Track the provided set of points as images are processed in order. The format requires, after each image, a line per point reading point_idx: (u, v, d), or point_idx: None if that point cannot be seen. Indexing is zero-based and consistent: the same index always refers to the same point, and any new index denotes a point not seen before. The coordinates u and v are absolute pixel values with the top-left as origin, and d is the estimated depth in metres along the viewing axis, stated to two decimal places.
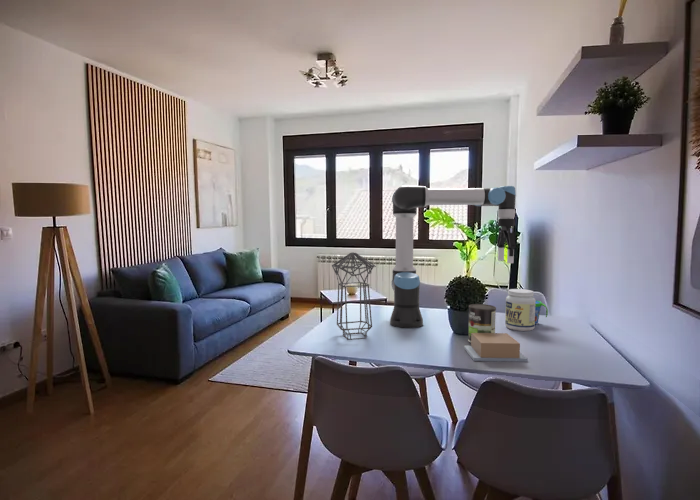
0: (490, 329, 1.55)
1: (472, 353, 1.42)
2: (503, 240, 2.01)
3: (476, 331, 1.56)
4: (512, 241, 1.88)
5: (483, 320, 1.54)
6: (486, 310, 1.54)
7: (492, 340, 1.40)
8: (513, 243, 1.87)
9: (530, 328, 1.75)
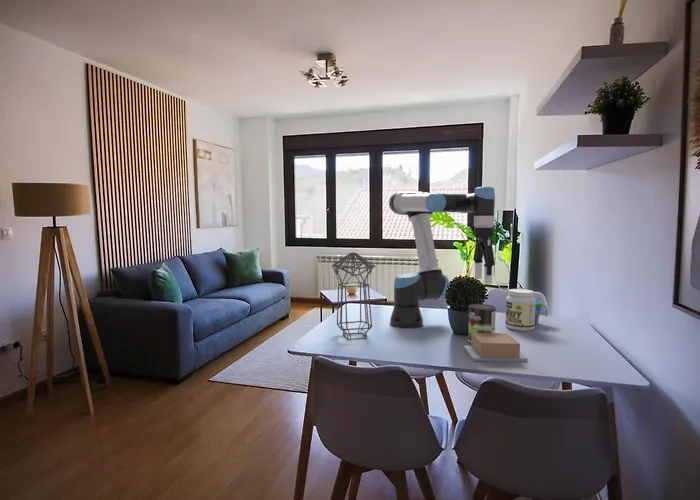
0: (490, 329, 1.55)
1: (472, 353, 1.42)
2: (480, 254, 1.62)
3: (476, 331, 1.56)
4: (490, 256, 1.49)
5: (483, 320, 1.54)
6: (486, 310, 1.54)
7: (492, 340, 1.40)
8: (491, 259, 1.48)
9: (530, 328, 1.75)
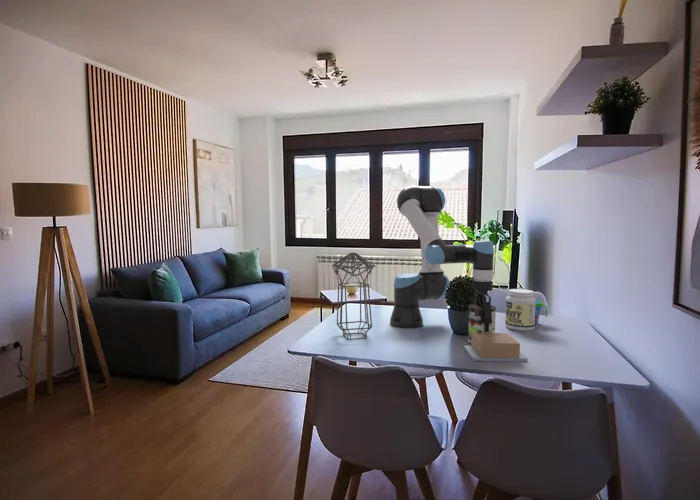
0: (490, 329, 1.55)
1: (472, 353, 1.42)
2: None
3: (476, 331, 1.56)
4: (488, 314, 1.51)
5: None
6: None
7: (492, 340, 1.40)
8: (489, 317, 1.51)
9: (530, 328, 1.75)
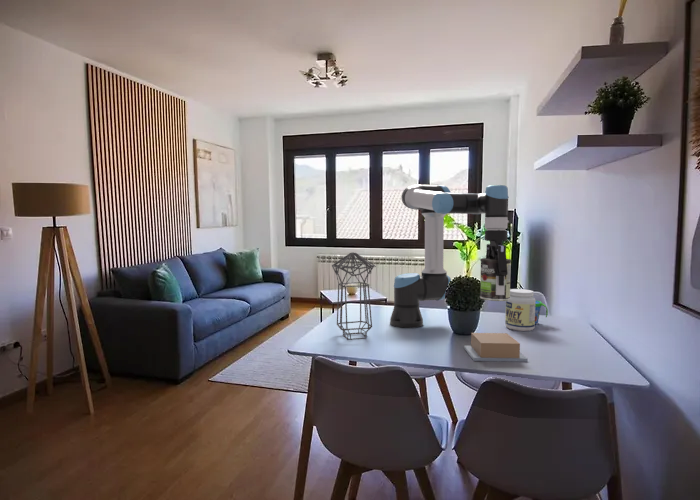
0: (505, 283, 1.39)
1: (472, 353, 1.42)
2: None
3: (489, 285, 1.39)
4: (503, 265, 1.35)
5: None
6: None
7: (492, 340, 1.40)
8: (504, 268, 1.35)
9: (530, 328, 1.75)
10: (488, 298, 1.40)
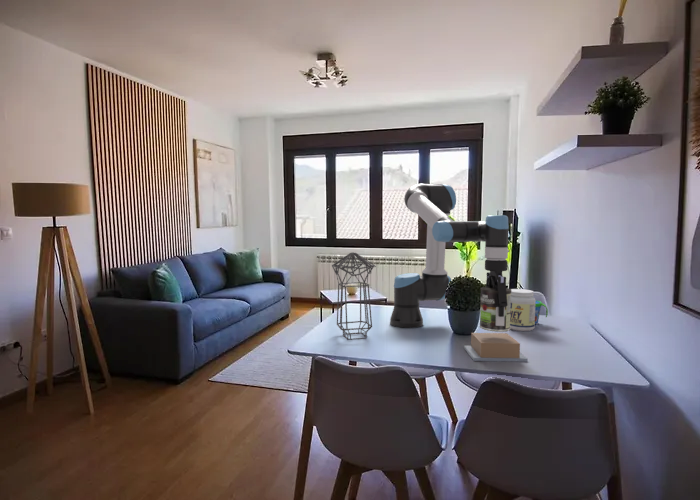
0: (505, 313, 1.38)
1: (472, 353, 1.42)
2: None
3: (489, 316, 1.39)
4: (503, 296, 1.34)
5: None
6: None
7: (492, 340, 1.40)
8: (504, 299, 1.34)
9: (530, 328, 1.75)
10: (488, 328, 1.40)
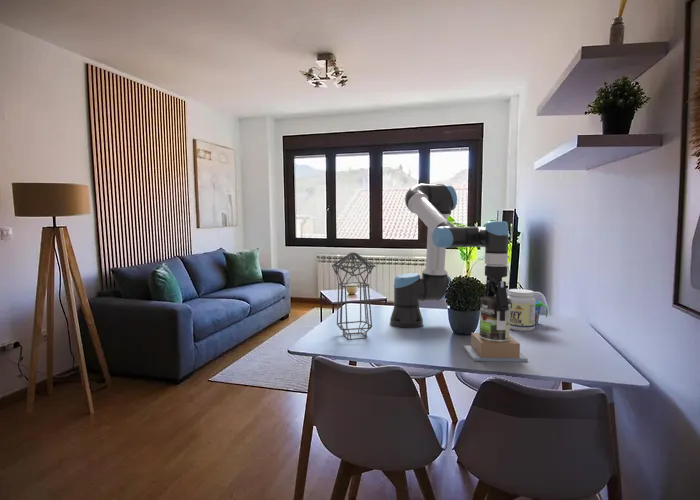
0: None
1: (472, 353, 1.42)
2: (492, 294, 1.47)
3: (489, 326, 1.39)
4: (503, 300, 1.34)
5: None
6: None
7: None
8: (505, 303, 1.33)
9: (530, 328, 1.75)
10: (487, 338, 1.40)
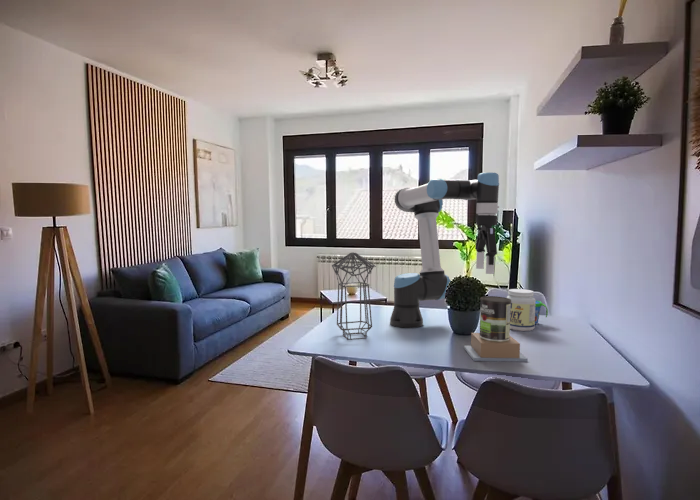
0: (505, 323, 1.38)
1: (472, 353, 1.42)
2: (483, 243, 1.56)
3: (489, 326, 1.39)
4: (492, 245, 1.43)
5: (497, 314, 1.38)
6: (500, 302, 1.37)
7: None
8: (493, 248, 1.42)
9: (530, 328, 1.75)
10: (487, 338, 1.40)
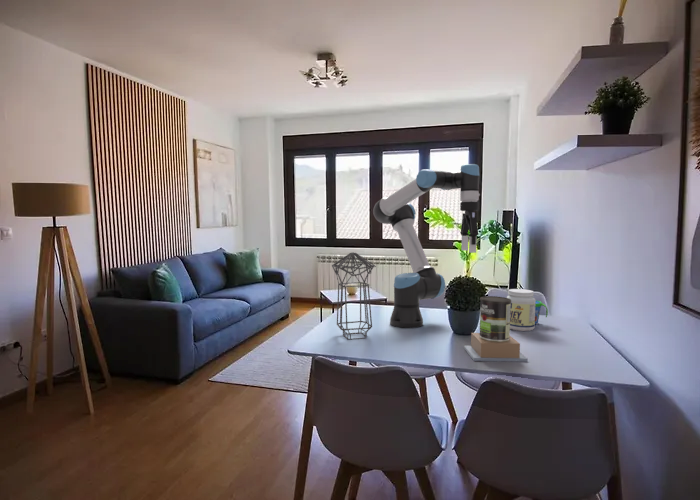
0: (505, 323, 1.38)
1: (472, 353, 1.42)
2: (467, 227, 1.76)
3: (489, 326, 1.39)
4: (474, 227, 1.63)
5: (497, 314, 1.38)
6: (500, 302, 1.37)
7: None
8: (475, 229, 1.63)
9: (530, 328, 1.75)
10: (487, 338, 1.40)
